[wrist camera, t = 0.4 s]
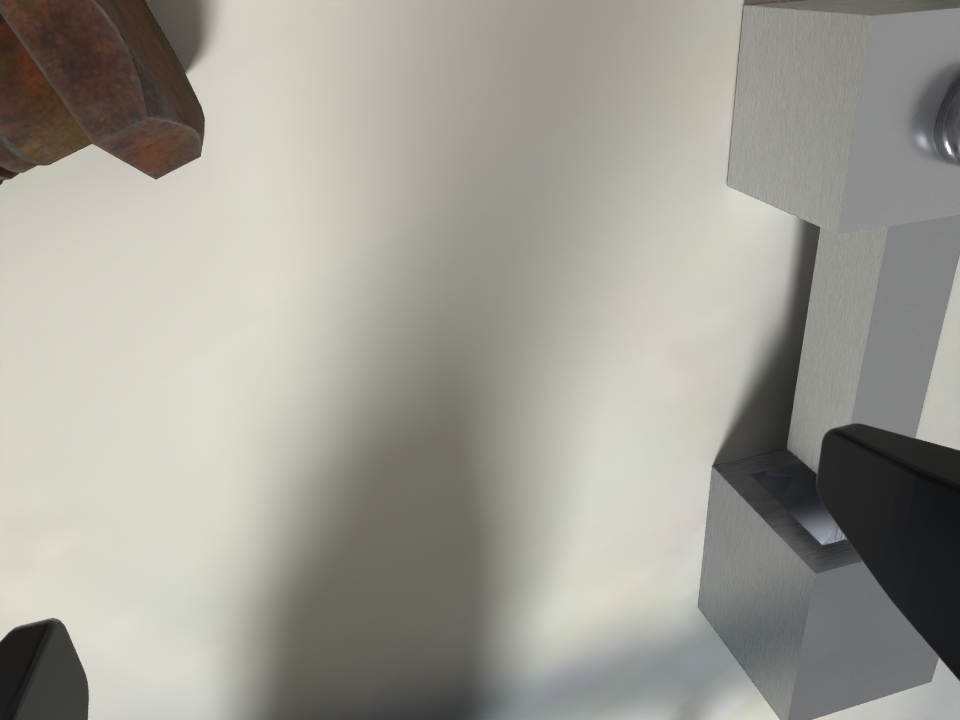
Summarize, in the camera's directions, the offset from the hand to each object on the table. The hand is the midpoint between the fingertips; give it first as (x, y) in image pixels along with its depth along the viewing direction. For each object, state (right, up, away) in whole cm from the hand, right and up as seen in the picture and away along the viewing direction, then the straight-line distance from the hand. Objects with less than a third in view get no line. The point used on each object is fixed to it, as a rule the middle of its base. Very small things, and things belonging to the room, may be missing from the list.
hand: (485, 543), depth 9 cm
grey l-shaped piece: (+19, +8, +18) cm, 27 cm away
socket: (+12, -4, +22) cm, 25 cm away
